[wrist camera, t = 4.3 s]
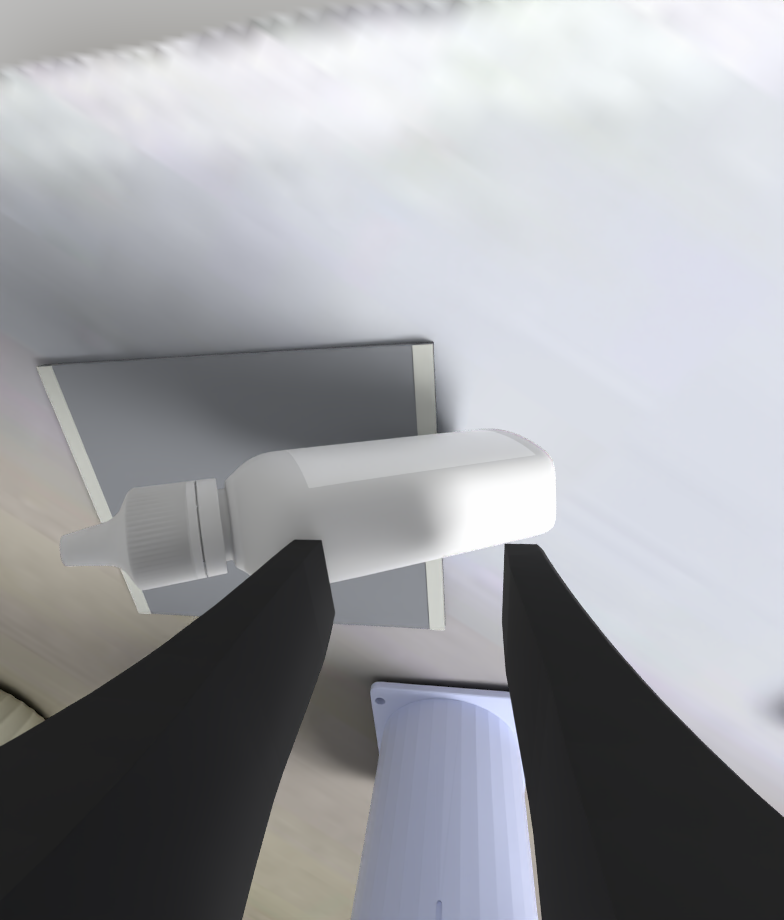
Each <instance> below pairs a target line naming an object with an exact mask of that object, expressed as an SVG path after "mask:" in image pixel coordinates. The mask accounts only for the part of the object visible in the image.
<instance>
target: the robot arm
mask: <svg viewBox="0 0 784 920" xmlns="http://www.w3.org/2000/svg"><path fill="white" fill-rule="evenodd" d="M334 617H335V609H334V603H333V598H332V593H331V587H330V582H329V577H328V571H327V566H326V561H325V555H324V550H323V545H322V540H296V539H294V540H293V541H292V542H290V543H289V544H288V545H287V546H285V547H284V548H283V549H282V550H280V551H279V552H278V553H277V554H276V555H274V556H273V557H272V558H271V559H270V560H268V561H267V562H266V563H265V564H264V565H263V566H261V567H260V568H259V569H258V570H257V571H256V572H254V573H253V574H252V575H251V576H250V577H248V578H247V579H246V580H245V581H244V582H242V583H241V584H240V585H239V586H238V587H236V588H235V589H234V590H233V591H231V592H230V593H229V594H228V595H227V596H225V597H224V598H223V599H222V600H221V601H219V602H218V603H217V604H216V605H214V606H213V607H212V608H211V609H209V610H208V611H207V612H205V613H204V614H203V615H201V616H200V617H199V618H197V619H196V620H195V621H193V622H192V623H191V624H190V625H188V626H187V627H186V628H184V629H183V630H182V631H180V632H179V633H178V634H176V635H175V636H174V637H173V638H171V639H170V640H169V641H167V642H166V643H165V644H163V645H162V646H160V647H159V648H158V649H156V650H155V651H153V652H152V653H151V654H149V655H148V656H146V657H145V658H143V659H142V660H140V661H139V662H138V663H136V664H135V665H133V666H132V667H130V668H129V669H127V670H126V671H124V672H122V673H121V674H119V675H118V676H116V677H115V678H113V679H112V680H110V681H109V682H107V683H106V684H104V685H103V686H101V687H100V688H98V689H96V690H95V691H93V692H92V693H90V694H89V695H87V696H85V697H84V698H82V699H80V700H78V701H77V702H75V703H73V704H72V705H70V706H68V707H67V708H65V709H63V710H62V711H60V712H58V713H56V714H55V715H53V716H51V717H50V718H48V719H46V720H45V721H43V722H41V723H40V724H38V725H36V726H34V727H33V728H31V729H29V730H28V731H26V732H24V733H23V734H21V735H19V736H17V737H16V738H14V739H12V740H10V741H9V742H7V743H5V744H3V745H1V746H0V920H242V917H243V914H244V910H245V906H246V902H247V898H248V894H249V890H250V886H251V882H252V879H253V875H254V871H255V867H256V863H257V860H258V856H259V852H260V849H261V845H262V841H263V838H264V834H265V831H266V827H267V823H268V820H269V816H270V812H271V809H272V805H273V802H274V799H275V795H276V792H277V789H278V786H279V783H280V780H281V777H282V774H283V771H284V769H285V766H286V763H287V760H288V758H289V755H290V752H291V750H292V747H293V744H294V742H295V739H296V736H297V733H298V731H299V728H300V725H301V723H302V720H303V717H304V714H305V712H306V709H307V706H308V704H309V701H310V698H311V695H312V693H313V690H314V687H315V684H316V682H317V679H318V676H319V673H320V671H321V668H322V665H323V662H324V659H325V655H326V651H327V647H328V643H329V639H330V635H331V630H332V626H333V621H334ZM502 627H503V641H504V655H505V668H506V676H507V681H508V687H509V692H506V691H493V690H480V689H467V688H455V687H442V686H429V685H416V684H403V683H391V682H375V683H373V684H372V685H371V690H370V696H371V703H372V710H373V716H374V723H375V730H376V736H377V743H378V750H379V760H378V765H377V771H376V777H375V783H374V788H373V794H372V800H371V805H370V811H369V817H368V823H367V828H366V834H365V840H364V846H363V851H362V857H361V863H360V869H359V874H358V880H357V886H356V892H355V897H354V903H353V909H352V915H351V920H538V915H537V906H536V897H535V888H534V879H533V869H532V860H531V851H530V842H529V833H528V824H527V815H526V806H525V796H524V792H525V783H526V789H527V794H528V800H529V807H530V814H531V821H532V828H533V835H534V845H535V855H536V865H537V875H538V885H539V895H540V905H541V915H542V920H784V817H783V816H782V815H781V814H780V813H778V812H777V811H776V810H775V809H774V808H773V807H772V806H770V805H769V804H768V803H767V802H766V801H765V800H764V799H763V798H761V797H760V796H759V795H758V794H757V793H756V792H755V791H754V790H753V789H751V788H750V787H749V786H748V785H747V784H746V783H745V782H744V781H743V780H742V779H741V778H740V777H739V776H738V775H737V774H736V773H735V772H734V771H733V770H731V769H730V768H729V767H728V766H727V765H726V764H725V763H724V762H723V761H722V760H721V759H720V758H719V757H718V756H717V755H716V754H715V753H714V752H713V751H712V750H711V749H710V748H708V747H707V746H706V745H705V744H704V743H703V742H702V741H701V740H700V739H699V738H698V737H697V736H696V735H695V734H694V733H693V732H692V731H691V730H690V729H689V728H688V727H687V726H686V725H685V723H684V722H683V721H682V720H681V719H680V718H679V717H678V716H677V715H676V714H675V713H674V712H673V711H672V710H671V709H670V708H669V707H668V706H667V705H666V704H665V703H664V702H663V701H662V700H661V699H660V698H659V697H658V695H657V694H656V693H655V692H654V691H653V690H652V689H651V688H650V687H649V686H648V685H647V684H646V682H645V681H644V680H643V679H642V678H641V677H640V676H639V675H638V673H637V672H636V671H635V670H634V669H633V668H632V667H631V666H630V664H629V663H628V662H627V661H626V660H625V659H624V658H623V656H622V655H621V654H620V653H619V652H618V651H617V649H616V648H615V647H614V646H613V645H612V643H611V642H610V641H609V640H608V639H607V637H606V636H605V635H604V634H603V633H602V631H601V630H600V629H599V627H598V626H597V625H596V624H595V622H594V621H593V620H592V619H591V617H590V616H589V615H588V614H587V612H586V611H585V610H584V609H583V607H582V606H581V605H580V603H579V602H578V601H577V599H576V598H575V597H574V595H573V594H572V593H571V591H570V590H569V588H568V587H567V586H566V584H565V583H564V581H563V580H562V579H561V577H560V576H559V574H558V573H557V571H556V570H555V568H554V567H553V565H552V564H551V562H550V561H549V559H548V558H547V556H546V554H545V553H544V551H543V550H542V549H541V548H540V547H539V546H538V545H537V544H505V550H504V579H503V608H502Z"/></svg>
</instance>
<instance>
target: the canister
mask: <svg viewBox="0 0 784 920" xmlns="http://www.w3.org/2000/svg"><path fill="white" fill-rule="evenodd" d="M43 721H45V719H44V718H43V717H41V716H39V715H38V714H37V713H36V712H35V710H33V709H32V708H30V707H28V706H27V705H26V704H25V703H24V702H22V701H20V700H18V699H16V698H15V697H14V696H13V695H11V694H8V693H6V692H4V691H2V690H1V689H0V746H1V745H3V744H5V743H7V742H9V741H10V740H12V739H14V738H16V737H17V736H19V735H21V734H23V733H24V732H26V731H28V730H29V729H31V728H33V727H34V726H36V725H38V724H40V723H41V722H43Z"/></svg>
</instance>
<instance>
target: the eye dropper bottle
mask: <svg viewBox="0 0 784 920" xmlns="http://www.w3.org/2000/svg"><path fill="white" fill-rule="evenodd" d="M555 519H556V479H555V468H554V463H553V460H552V458H551V457H550V455H549V454H548V453H547V452H546V451H545V450H544V449H542V448H541V447H540V446H538V445H537V444H535V443H534V442H532V441H530V440H528V439H526V438H524V437H522V436H520V435H518V434H515V433H512V432H509V431H505V430H499V429H476V430H467V431H457V432H448V433H438V434H429V435H420V436H410V437H401V438H391V439H382V440H373V441H363V442H354V443H345V444H335V445H326V446H317V447H308V448H298V449H289V450H281V451H273V452H267V453H263V454H260V455H257V456H255V457H253V458H251V459H249V460H248V461H246V462H245V463H243V464H242V465H241V466H240V467H238V468H237V469H236V471H235V472H234V473H233V474H232V475H230V476H229V477H228V478H227V479H226V480H225V488H224V489H217V485H216V479H215V478H211V479H203V480H196V481H187V482H179V483H171V484H162V485H154V486H146V487H138V488H132V489H131V490H130V491H129V492H128V493H127V494H126V496H125V499H124V501H123V503H122V506H121V508H120V511H119V512H118V513H117V514H116V515H115V516H114V517H113V518H112V519H110V520H109V521H107V522H104V523H101V524H98V525H95V526H92V527H88V528H85V529H82V530H79V531H76V532H72V533H69V534H66V535H63V536H62V537H61V540H60V556H61V560H62V562H63V564H64V565H65V566H115V567H118V568H121V569H122V570H124V571H125V572H126V573H127V574H128V575H129V577H130V578H131V579H132V581H133V582H134V584H135V585H136V586H137V587H138V588H140V589H141V590H148V589H153V588H158V587H163V586H167V585H172V584H177V583H182V582H187V581H192V580H197V579H202V578H207V575H208V577H211V576H216V575H221V574H226V573H228V572H227V563H226V561H230V560H234V562H235V566H236V567H237V568H238V569H240V570H242V571H244V572H246V573H248V574H249V575H250V576H251V575H252V574H253V573H254V572H256V571H257V570H258V569H259V568H260V567H261V566H263V565H264V564H265V563H266V562H267V561H268V560H270V559H271V558H272V557H273V556H274V555H276V554H277V553H278V552H279V551H280V550H282V549H283V548H284V547H285V546H287V545H288V544H289V543H290V542H292V541H293V540H294V539H296V540H322V545H323V550H324V555H325V561H326V566H327V571H328V577H329V582H330V583H333V582H338V581H343V580H347V579H352V578H357V577H361V576H366V575H370V574H374V573H379V572H383V571H387V570H392V569H396V568H401V567H405V566H409V565H414V564H418V563H422V562H427V561H431V560H435V559H440V558H444V557H448V556H453V555H457V554H461V553H465V552H470V551H474V550H478V549H483V548H487V547H491V546H495V545H500V544H504V543H508V542H513V541H517V540H521V539H525V538H530V537H534V536H537V535H540V534H543V533H546V532H548V531H549V530H550V529H551V528H552V527H553V526H554V523H555Z"/></svg>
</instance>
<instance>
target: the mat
mask: <svg viewBox="0 0 784 920" xmlns="http://www.w3.org/2000/svg"><path fill="white" fill-rule="evenodd" d="M36 368H37V371H38V373H39V376H40V378H41V380H42V383H43V385H44V387H45V390H46V392H47V395H48V397H49V399H50V402H51V404H52V407H53V409H54V411H55V414H56V416H57V419H58V421H59V423H60V426H61V428H62V431H63V433H64V435H65V438H66V440H67V443H68V445H69V447H70V450H71V452H72V455H73V457H74V459H75V462H76V464H77V466H78V469H79V471H80V474H81V476H82V478H83V481H84V483H85V486H86V488H87V490H88V493H89V495H90V498H91V500H92V502H93V505H94V507H95V510H96V512H97V514H98V517H99V519H100V522H101V523H104V522H107V521H109V520H110V519H112V518H113V517H114V516H115V515H116V514H117V513H118V512H119V511H120V508H121V506H122V503H123V501H124V499H125V496H126V494H127V493H128V492H129V491H130V490H131V489H132V488H138V487H146V486H154V485H162V484H171V483H179V482H187V481H196V480H203V479H211V478H215V479H216V485H217V489H224V488H225V480H226V479H227V478H228V477H229V476H230V475H232V474H233V473H234V472H235V471H236V469H237V468H238V467H240V466H241V465H242V464H243V463H245V462H246V461H248V460H249V459H251V458H253V457H255V456H257V455H260V454H263V453H267V452H273V451H281V450H289V449H298V448H308V447H317V446H326V445H335V444H345V443H354V442H363V441H373V440H382V439H391V438H401V437H410V436H420V435H429V434H437V414H436V390H435V367H434V343H433V342H424V343H407V344H390V345H373V346H356V347H339V348H322V349H304V350H287V351H270V352H253V353H236V354H219V355H202V356H185V357H168V358H151V359H133V360H116V361H99V362H82V363H65V364H48V365H42V366H38V367H36ZM226 563H227V572H228V573H226V574H221V575H216V576H211V577H208V575H207V578H202V579H197V580H192V581H187V582H182V583H177V584H172V585H167V586H163V587H158V588H153V589H148V590H141V589H140V588H138V587H137V586H136V585H135V584H134V582H133V581H132V579H131V578H130V577H129V575H128V574H127V573H126V572H125V571H124V570H122V569H121V568H120V569H121V572H122V574H123V577H124V579H125V581H126V584H127V586H128V589H129V591H130V593H131V596H132V598H133V601H134V603H135V605H136V608H137V610H138V613H140V614H168V615H186V616H201V615H203V614H204V613H205V612H207V611H208V610H209V609H211V608H212V607H213V606H214V605H216V604H217V603H218V602H219V601H221V600H222V599H223V598H224V597H225V596H227V595H228V594H229V593H230V592H231V591H233V590H234V589H235V588H236V587H238V586H239V585H240V584H241V583H242V582H244V581H245V580H246V579H247V578H248V577H250V575H249V574H248V573H246V572H244V571H242V570H240V569H238V568H237V567H236V566H235V562H234V560H230V561H226ZM330 587H331V593H332V598H333V603H334V609H335V617H334V621H333V624H348V625H366V626H384V627H402V628H420V629H430V630H444V631H445V603H444V579H443V558H440V559H435V560H431V561H427V562H422V563H418V564H414V565H409V566H405V567H401V568H396V569H392V570H387V571H383V572H379V573H374V574H370V575H366V576H361V577H357V578H352V579H347V580H343V581H338V582H333V583H330Z"/></svg>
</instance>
